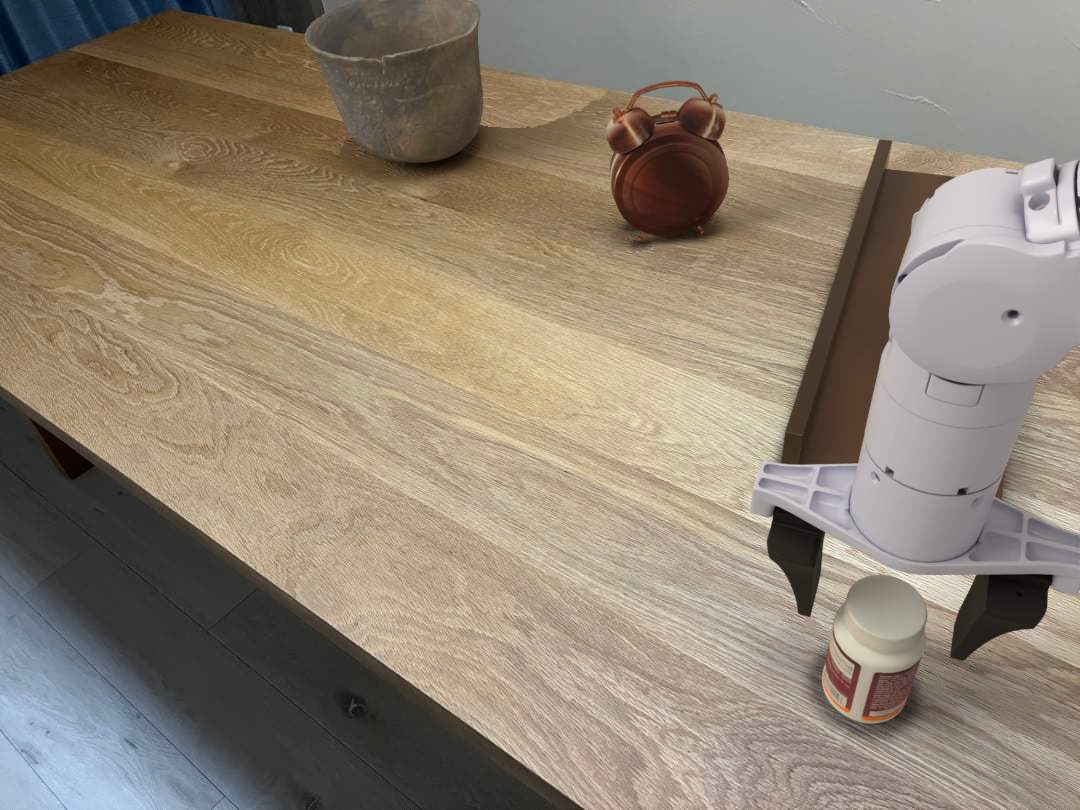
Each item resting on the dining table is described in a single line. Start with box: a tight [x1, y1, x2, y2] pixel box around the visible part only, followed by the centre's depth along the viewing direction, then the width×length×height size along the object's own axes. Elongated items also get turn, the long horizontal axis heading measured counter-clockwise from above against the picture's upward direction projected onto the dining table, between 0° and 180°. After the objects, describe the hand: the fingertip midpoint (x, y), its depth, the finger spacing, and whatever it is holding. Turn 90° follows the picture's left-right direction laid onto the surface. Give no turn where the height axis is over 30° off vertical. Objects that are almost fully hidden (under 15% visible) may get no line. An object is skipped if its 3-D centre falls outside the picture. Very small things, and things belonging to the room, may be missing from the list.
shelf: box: [780, 138, 1006, 501], centre depth 74 cm, size 14×41×5 cm, turn 157°
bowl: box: [304, 0, 484, 164], centre depth 99 cm, size 18×18×15 cm
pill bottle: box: [821, 574, 928, 725], centre depth 50 cm, size 5×5×8 cm
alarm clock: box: [605, 80, 730, 242], centre depth 83 cm, size 11×5×15 cm, turn 94°
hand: (881, 621), depth 48 cm, fingers open, 7 cm apart
